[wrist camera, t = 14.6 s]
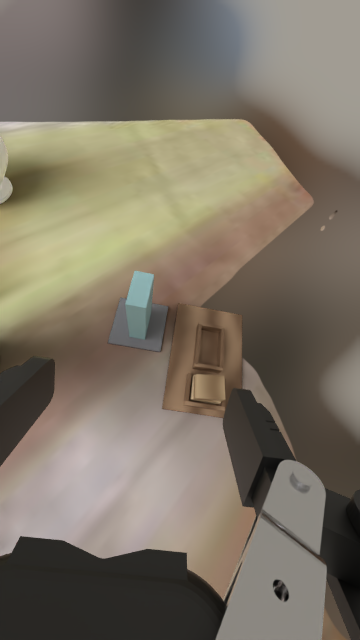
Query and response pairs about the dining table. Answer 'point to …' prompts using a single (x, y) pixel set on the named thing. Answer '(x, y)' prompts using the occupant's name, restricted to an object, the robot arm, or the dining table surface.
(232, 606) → the robot arm
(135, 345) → the mat
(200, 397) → the offcut top
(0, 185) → the decorative vase
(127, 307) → the teal rectangular block
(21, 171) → the dining table surface
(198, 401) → the offcut low
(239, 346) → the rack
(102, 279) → the dining table surface
